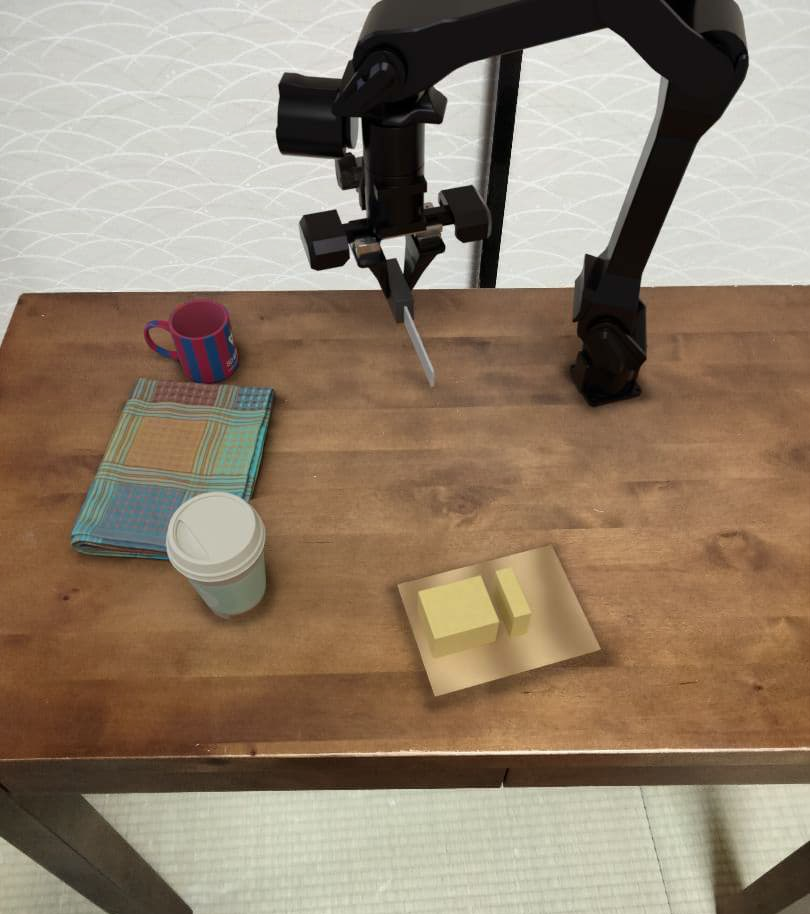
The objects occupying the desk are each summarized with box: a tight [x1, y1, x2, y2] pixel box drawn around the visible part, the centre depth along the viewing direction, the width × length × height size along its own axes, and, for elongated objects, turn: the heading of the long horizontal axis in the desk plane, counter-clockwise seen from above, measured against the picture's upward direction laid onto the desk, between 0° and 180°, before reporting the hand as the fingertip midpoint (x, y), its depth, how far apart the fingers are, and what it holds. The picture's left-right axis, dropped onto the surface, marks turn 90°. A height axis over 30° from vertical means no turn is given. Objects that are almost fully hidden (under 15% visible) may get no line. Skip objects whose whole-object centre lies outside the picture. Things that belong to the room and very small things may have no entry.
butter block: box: [418, 575, 499, 658], centre depth 74 cm, size 6×5×4 cm
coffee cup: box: [166, 492, 267, 621], centre depth 74 cm, size 8×9×12 cm
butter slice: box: [492, 567, 531, 638], centre depth 75 cm, size 2×5×4 cm, turn 16°
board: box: [396, 544, 602, 697], centre depth 77 cm, size 16×12×2 cm
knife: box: [386, 257, 435, 388], centre depth 86 cm, size 2×17×3 cm, turn 16°
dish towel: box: [69, 377, 277, 561], centre depth 87 cm, size 17×23×2 cm
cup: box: [143, 298, 240, 384], centre depth 94 cm, size 7×10×7 cm
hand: (396, 294), depth 89 cm, fingers closed on knife, 2 cm apart
